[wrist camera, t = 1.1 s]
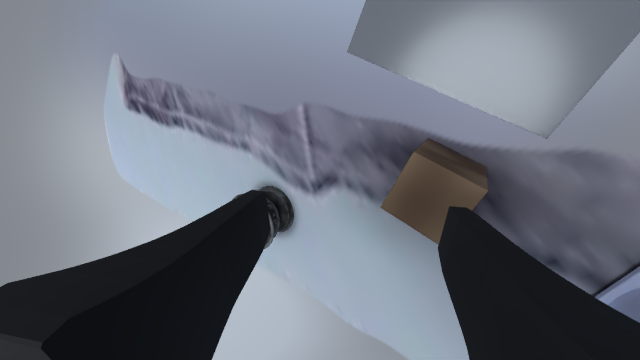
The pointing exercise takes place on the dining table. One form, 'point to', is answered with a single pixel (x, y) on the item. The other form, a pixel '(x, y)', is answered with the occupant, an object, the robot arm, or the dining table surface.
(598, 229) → the dining table surface
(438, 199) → the walnut block
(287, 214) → the salt shaker
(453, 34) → the slate coaster
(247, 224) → the robot arm
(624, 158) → the dining table surface
